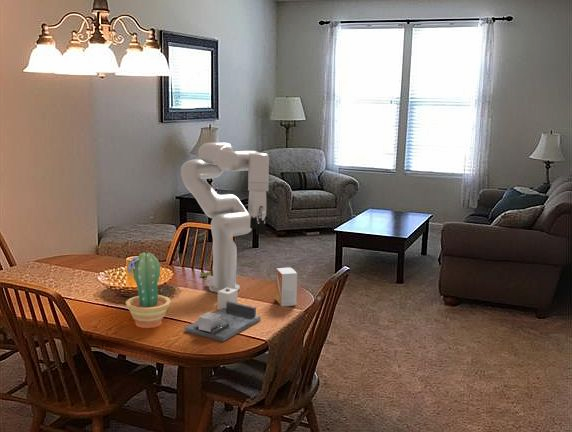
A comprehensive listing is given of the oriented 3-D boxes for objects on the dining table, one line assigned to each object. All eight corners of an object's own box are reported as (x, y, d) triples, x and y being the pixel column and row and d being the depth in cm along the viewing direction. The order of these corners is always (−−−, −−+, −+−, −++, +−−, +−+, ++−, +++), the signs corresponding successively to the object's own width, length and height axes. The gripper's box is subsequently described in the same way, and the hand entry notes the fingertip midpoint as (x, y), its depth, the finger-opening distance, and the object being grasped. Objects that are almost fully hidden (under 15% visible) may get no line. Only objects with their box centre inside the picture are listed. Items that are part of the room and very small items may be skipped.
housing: (217, 309, 234) (217, 289, 233) (226, 304, 239) (226, 285, 238) (228, 311, 232) (228, 292, 230) (237, 307, 237) (237, 288, 236)
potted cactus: (142, 312, 228) (141, 246, 223) (179, 319, 223) (179, 251, 218) (116, 327, 214) (114, 256, 209) (155, 334, 209) (154, 262, 204)
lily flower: (221, 272, 283) (221, 262, 282) (229, 280, 272) (229, 269, 271) (195, 274, 279) (195, 264, 278) (202, 282, 268) (202, 272, 267)
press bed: (184, 331, 212) (184, 318, 211) (223, 311, 232) (223, 300, 231) (223, 341, 204) (223, 328, 204) (260, 320, 224) (260, 308, 223)
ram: (198, 329, 210) (198, 316, 209) (212, 321, 216) (212, 309, 215) (210, 332, 207) (210, 319, 206) (224, 324, 214) (224, 312, 213)
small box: (275, 299, 247) (275, 268, 244) (290, 298, 249) (291, 267, 246) (280, 306, 239) (281, 273, 237) (296, 305, 241) (297, 272, 238)
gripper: (243, 183, 240) (242, 226, 243) (254, 190, 223) (253, 236, 227) (262, 182, 242) (261, 226, 245) (274, 189, 225) (273, 235, 229)
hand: (257, 231), depth 236 cm, fingers open, 9 cm apart
